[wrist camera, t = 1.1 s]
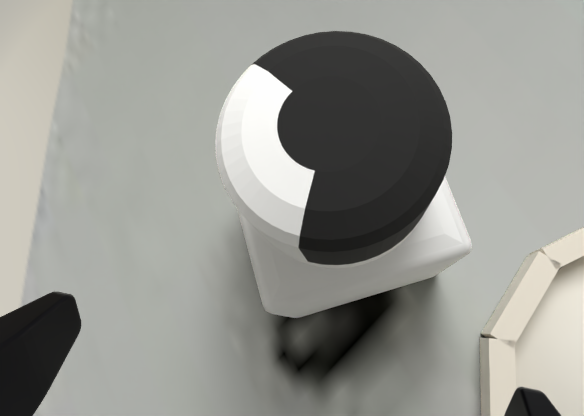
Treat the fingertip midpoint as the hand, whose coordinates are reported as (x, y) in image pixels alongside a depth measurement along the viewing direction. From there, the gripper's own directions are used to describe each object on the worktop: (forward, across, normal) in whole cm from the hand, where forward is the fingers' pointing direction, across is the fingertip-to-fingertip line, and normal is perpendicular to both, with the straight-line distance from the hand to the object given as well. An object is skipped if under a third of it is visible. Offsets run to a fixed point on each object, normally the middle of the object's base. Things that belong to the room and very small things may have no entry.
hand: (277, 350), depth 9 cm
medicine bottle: (+13, 0, +6) cm, 14 cm away
